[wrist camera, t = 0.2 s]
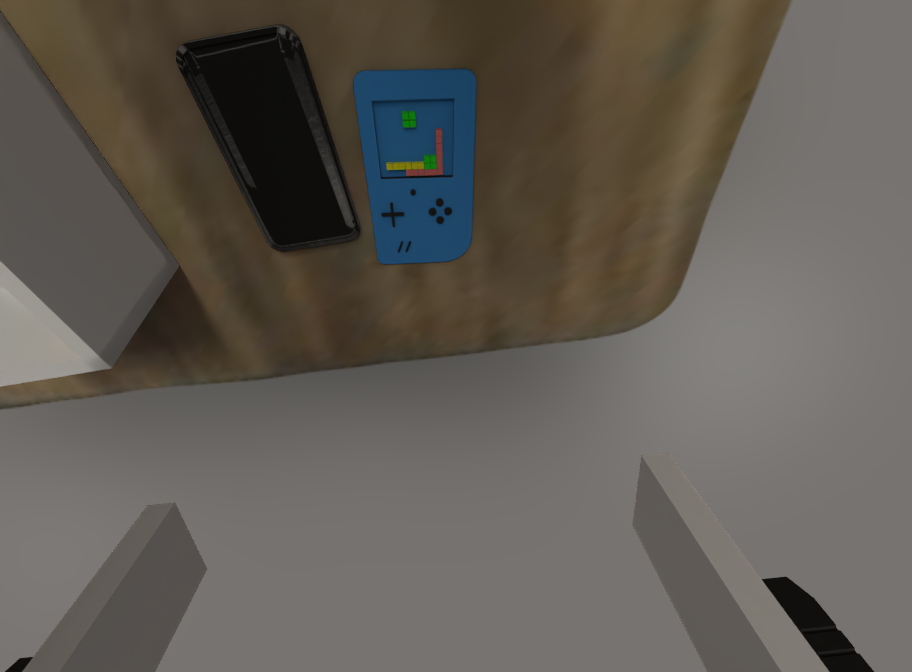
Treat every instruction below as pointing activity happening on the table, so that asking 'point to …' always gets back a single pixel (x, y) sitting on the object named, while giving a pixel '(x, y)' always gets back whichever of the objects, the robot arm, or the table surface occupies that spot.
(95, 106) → the table surface
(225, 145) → the phone
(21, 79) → the open box
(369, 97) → the handheld gaming device
